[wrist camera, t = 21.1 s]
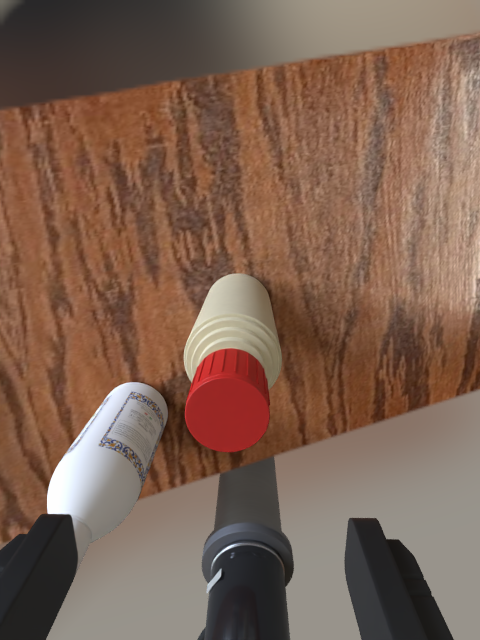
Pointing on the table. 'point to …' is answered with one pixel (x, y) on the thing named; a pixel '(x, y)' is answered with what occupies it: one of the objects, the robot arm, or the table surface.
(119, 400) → the bath foam
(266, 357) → the sauce bottle
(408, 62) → the table surface
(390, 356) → the table surface
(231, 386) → the cap
